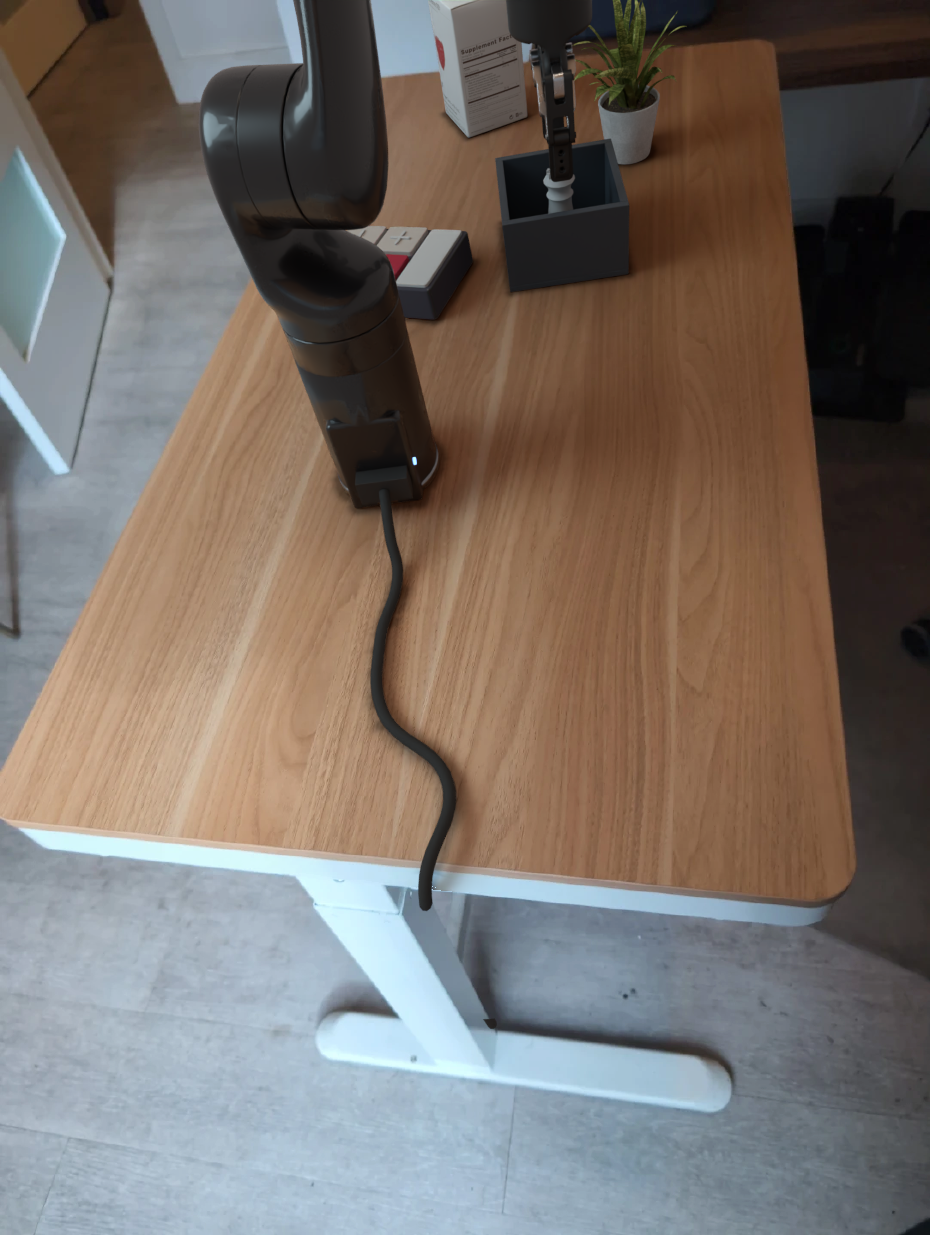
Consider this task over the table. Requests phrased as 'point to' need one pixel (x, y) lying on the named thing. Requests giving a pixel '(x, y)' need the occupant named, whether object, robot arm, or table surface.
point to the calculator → (423, 264)
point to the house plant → (628, 86)
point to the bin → (564, 219)
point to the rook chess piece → (559, 194)
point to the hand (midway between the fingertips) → (557, 158)
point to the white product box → (478, 64)
